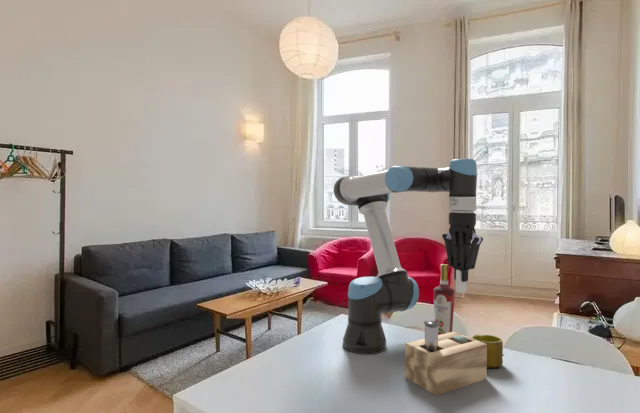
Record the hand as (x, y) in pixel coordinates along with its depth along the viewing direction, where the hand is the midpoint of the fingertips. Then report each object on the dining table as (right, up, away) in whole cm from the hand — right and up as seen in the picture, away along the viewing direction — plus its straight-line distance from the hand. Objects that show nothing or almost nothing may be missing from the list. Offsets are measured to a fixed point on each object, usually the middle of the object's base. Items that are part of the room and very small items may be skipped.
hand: (460, 291), depth 114 cm
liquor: (+3, -24, +25) cm, 35 cm away
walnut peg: (0, -24, +1) cm, 24 cm away
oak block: (-5, -24, -2) cm, 25 cm away
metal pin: (-10, -17, -6) cm, 21 cm away
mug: (+11, -25, +9) cm, 28 cm away
